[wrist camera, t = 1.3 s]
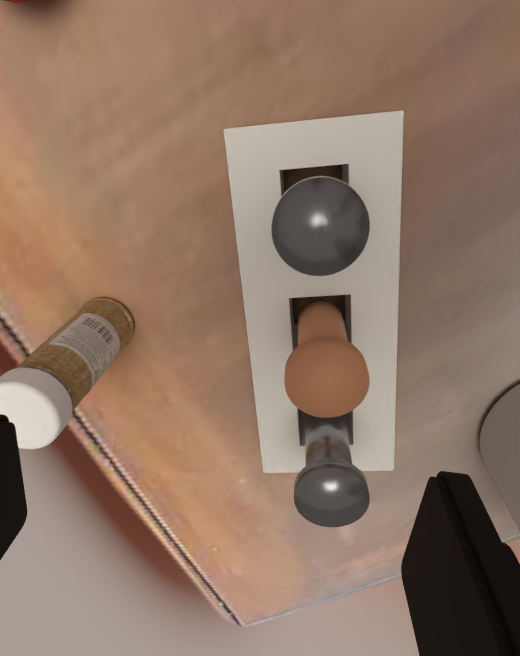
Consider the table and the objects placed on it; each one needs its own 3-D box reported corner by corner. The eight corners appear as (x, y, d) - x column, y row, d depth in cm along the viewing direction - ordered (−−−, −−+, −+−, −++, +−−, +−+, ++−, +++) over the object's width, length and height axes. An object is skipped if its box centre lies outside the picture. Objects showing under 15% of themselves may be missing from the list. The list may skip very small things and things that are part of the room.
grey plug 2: (354, 393, 34) (369, 469, 26) (355, 442, 35) (369, 526, 28) (293, 395, 34) (291, 471, 27) (297, 444, 36) (296, 527, 29)
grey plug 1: (351, 159, 27) (369, 174, 20) (352, 233, 29) (369, 272, 22) (276, 166, 28) (267, 183, 20) (281, 239, 29) (275, 279, 22)
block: (387, 111, 30) (403, 110, 25) (383, 430, 40) (393, 470, 35) (234, 127, 31) (223, 128, 26) (267, 433, 41) (263, 472, 37)
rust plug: (353, 288, 30) (369, 342, 23) (354, 348, 32) (369, 416, 25) (285, 292, 31) (281, 346, 24) (290, 351, 33) (287, 419, 25)
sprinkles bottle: (70, 311, 38) (-41, 404, 26) (113, 286, 36) (19, 370, 24) (104, 355, 39) (15, 463, 27) (147, 332, 38) (74, 434, 26)
